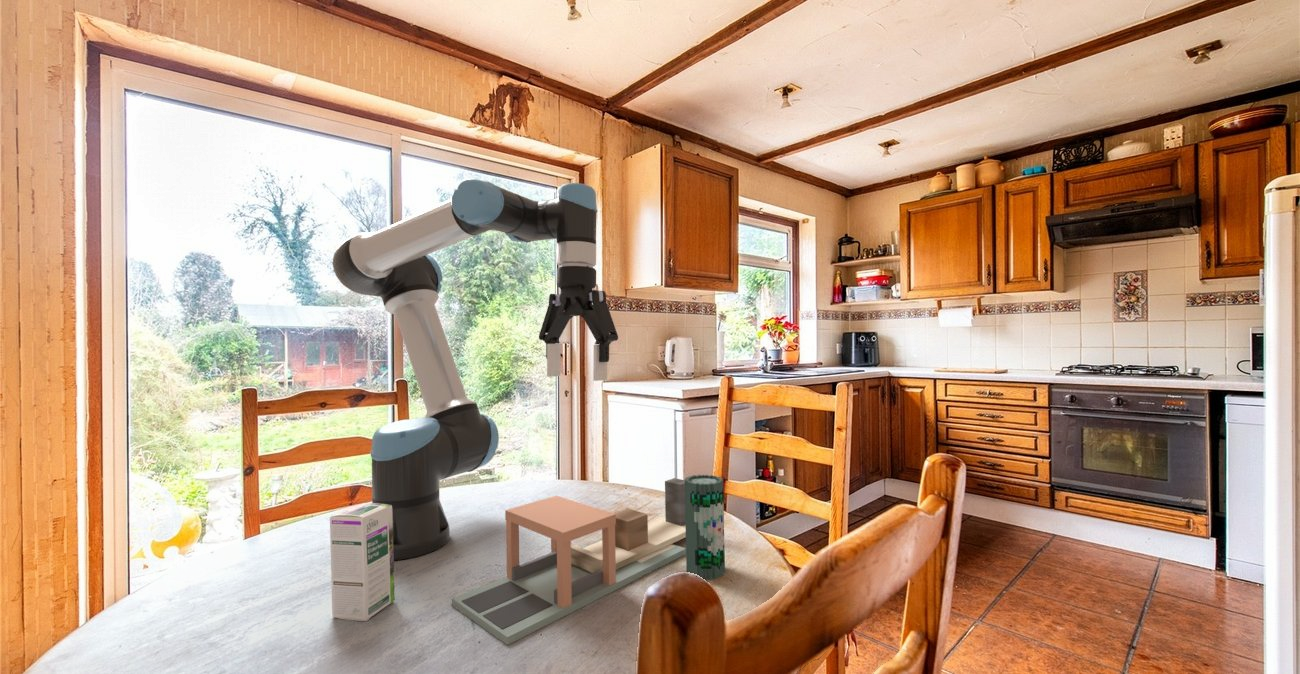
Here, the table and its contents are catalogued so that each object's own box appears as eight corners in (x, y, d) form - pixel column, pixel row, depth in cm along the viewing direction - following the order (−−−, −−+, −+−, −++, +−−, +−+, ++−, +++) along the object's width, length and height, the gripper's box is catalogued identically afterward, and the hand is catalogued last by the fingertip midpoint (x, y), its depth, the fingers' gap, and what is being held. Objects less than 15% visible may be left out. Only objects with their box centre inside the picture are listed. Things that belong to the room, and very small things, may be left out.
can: (706, 582, 79) (704, 486, 79) (679, 570, 83) (677, 479, 84) (731, 570, 83) (729, 479, 83) (704, 559, 87) (702, 472, 88)
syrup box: (366, 622, 69) (365, 516, 69) (329, 618, 70) (329, 514, 71) (395, 601, 75) (394, 503, 75) (361, 598, 76) (360, 501, 76)
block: (608, 543, 90) (607, 515, 90) (628, 535, 93) (627, 508, 93) (628, 551, 86) (627, 521, 86) (648, 542, 90) (647, 514, 90)
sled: (565, 560, 85) (564, 507, 85) (666, 519, 104) (665, 476, 104) (601, 576, 79) (600, 519, 79) (700, 529, 98) (700, 483, 98)
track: (451, 605, 73) (450, 525, 74) (626, 533, 100) (625, 475, 100) (507, 645, 63) (506, 553, 63) (686, 554, 90) (684, 489, 90)
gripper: (637, 263, 91) (637, 380, 91) (551, 274, 107) (551, 373, 107) (607, 258, 85) (607, 383, 85) (521, 270, 102) (521, 375, 102)
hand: (575, 378), depth 96 cm, fingers open, 13 cm apart
